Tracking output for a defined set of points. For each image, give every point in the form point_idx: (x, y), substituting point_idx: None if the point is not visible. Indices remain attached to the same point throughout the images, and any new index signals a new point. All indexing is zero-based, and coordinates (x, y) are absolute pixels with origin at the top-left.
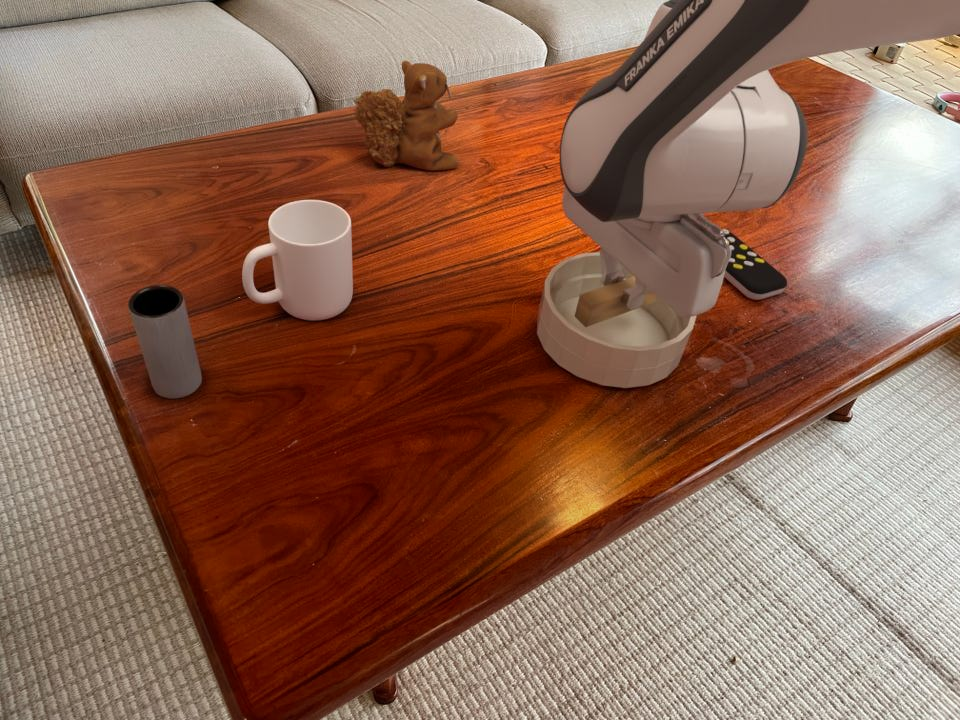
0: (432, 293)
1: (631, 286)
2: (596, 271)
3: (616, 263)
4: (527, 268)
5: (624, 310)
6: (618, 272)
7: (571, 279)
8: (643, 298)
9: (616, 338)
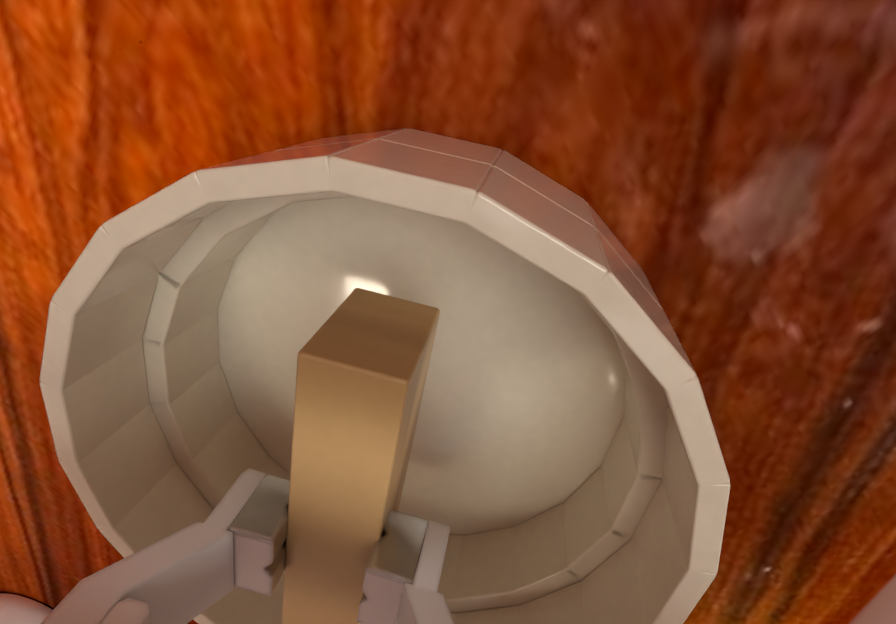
0: (78, 521)
1: (345, 530)
2: (147, 292)
3: (190, 574)
4: (41, 296)
5: (403, 478)
6: (242, 547)
7: (154, 385)
8: (442, 560)
9: (435, 383)
